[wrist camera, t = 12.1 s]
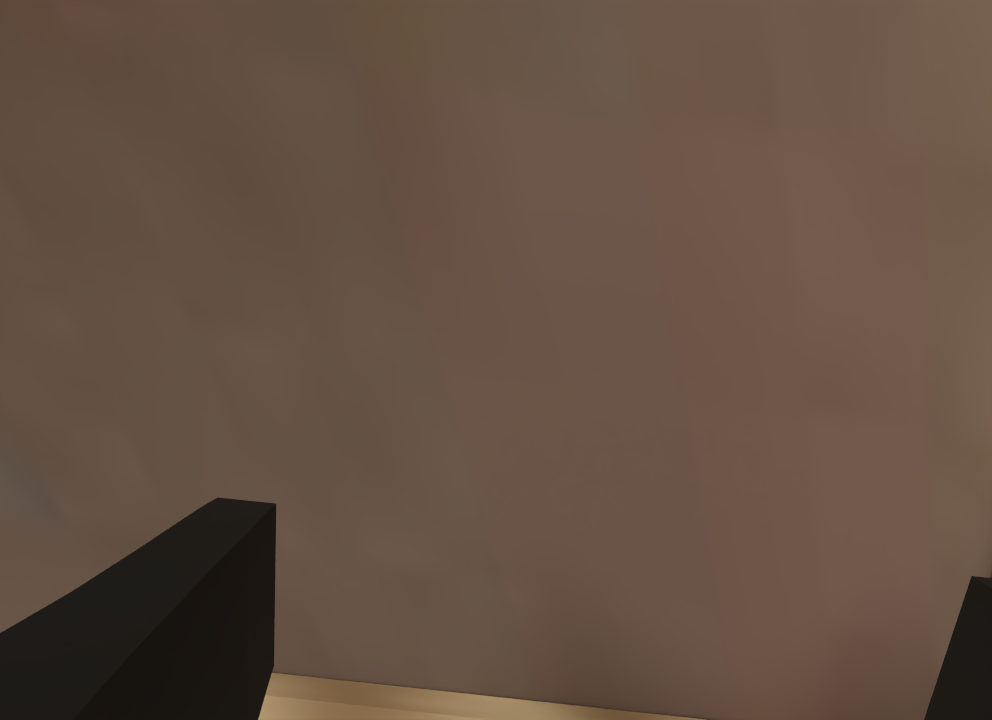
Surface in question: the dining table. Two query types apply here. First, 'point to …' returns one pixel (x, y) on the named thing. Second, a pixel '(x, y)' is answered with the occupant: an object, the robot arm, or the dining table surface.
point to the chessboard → (413, 704)
